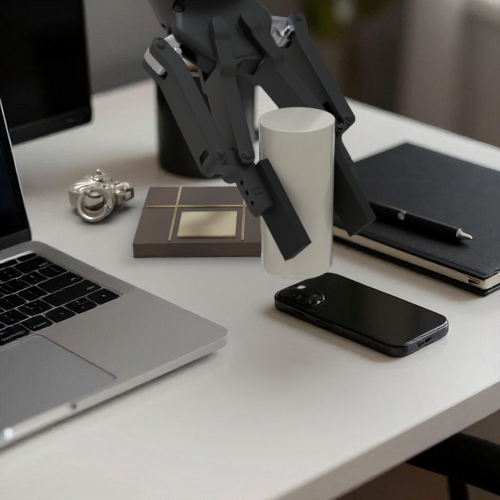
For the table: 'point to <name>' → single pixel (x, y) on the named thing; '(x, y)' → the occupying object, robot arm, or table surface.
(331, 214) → the white cylinder
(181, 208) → the board
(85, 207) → the ornament
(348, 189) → the robot arm
